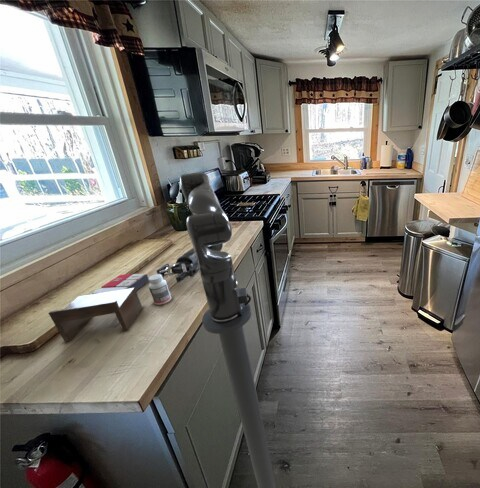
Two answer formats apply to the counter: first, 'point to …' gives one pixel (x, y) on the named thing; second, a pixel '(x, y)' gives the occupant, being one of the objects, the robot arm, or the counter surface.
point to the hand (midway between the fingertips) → (166, 279)
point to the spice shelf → (97, 310)
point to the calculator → (124, 283)
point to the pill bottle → (159, 289)
